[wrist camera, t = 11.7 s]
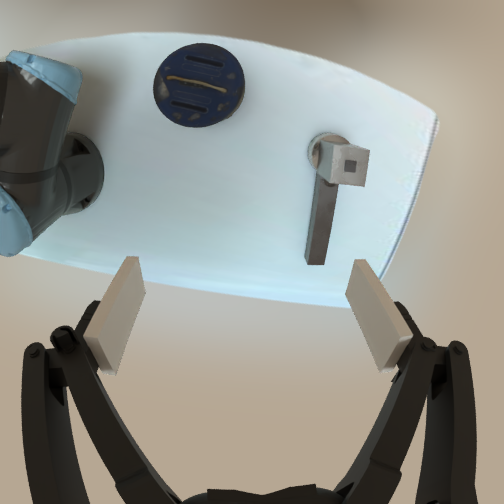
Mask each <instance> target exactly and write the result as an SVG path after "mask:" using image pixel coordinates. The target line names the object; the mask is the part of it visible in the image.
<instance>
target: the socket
mask: <svg viewBox="0 0 504 504" xmlns="http://www.w3.org/2000/svg"><path fill="white" fill-rule="evenodd" d="M369 153H370V150H368V149H365V148H362V147H359V146H356V145H353V144H348V143H342V142H334V141H327V140H320V143H319V153H318V163H317V173H318V174H319V175H321V176H322V177H323V178H324V179H326V180H327V181H328V182H329V183H335V184H345V185H354V186H363V187H365V181H366V174H367V168H368V160H369Z"/></svg>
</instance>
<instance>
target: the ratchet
mask: <svg viewBox="0 0 504 504" xmlns="http://www.w3.org/2000/svg"><path fill="white" fill-rule="evenodd" d="M320 140H327V141H334V142H342V143H348V144H350V143H349V142H348V141H347V140H346V139H345V138H343V137H341V136H338V135H336V134H333V133H322V134H320V135H318V136H316V137H315V138H314V139H313V140H312V141H311V143H310V145H309V147H308V159H309V161H310V163H311V165H312V166H313V167H314V168H315V169H316V170H317V163H318V153H319V143H320ZM338 185H339V184H335V183H329V182H328V181H327V180H326V179H324V178H323V177H322V176H321V175H319V174H318V173H316V181H315V189H314V196H313V204H312V211H311V218H310V225H309V232H308V238H307V245H306V251H305V259H306V262H307V265H324V263H325V258H326V253H327V248H328V243H329V238H330V232H331V227H332V221H333V216H334V210H335V204H336V198H337V192H338Z"/></svg>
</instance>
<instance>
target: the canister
mask: <svg viewBox="0 0 504 504" xmlns="http://www.w3.org/2000/svg"><path fill="white" fill-rule="evenodd" d="M244 92H245V78H244V73H243V70H242V67H241V65H240V63H239V62H238V60H237V59H236V58H235V56H234V55H232V54H231V53H230V52H229V51H227V50H226V49H224V48H222V47H220V46H217V45H213V44H207V43H196V44H191V45H187V46H184V47H182V48H180V49H178V50H176V51H174V52H173V53H171V54H170V55H169V56H168V57H167V58H166V59H165V60H164V61H163V62H162V64H161V65H160V67H159V69H158V70H157V73H156V75H155V79H154V84H153V93H154V98H155V101H156V104H157V106H158V108H159V109H160V111H161V112H162V113H163V114H164V115H165V116H166V117H167V118H168V119H170V120H171V121H173V122H174V123H177V124H179V125H182V126H185V127H193V128H198V127H206V126H210V125H213V124H216V123H218V122H220V121H222V120H224V119H226V118H229V117H230V116H232V114H233V113H234V112H235V111H236V110H237V109H238V107H239V106H240V104H241V102H242V100H243V97H244Z"/></svg>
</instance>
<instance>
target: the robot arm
mask: <svg viewBox="0 0 504 504" xmlns="http://www.w3.org/2000/svg"><path fill="white" fill-rule="evenodd" d="M81 83H82V73H81V71H80V70H79V69H78V68H76V67H74V66H71V65H68V64H65V63H62V62H59V61H55V60H52V59H48V58H45V57H41V56H36V55H33V54H29V53H25V52H21V51H15V50H13V51H11V52H10V53H9V55H8V56H7V57H6V62H0V255H2V256H6V257H11V256H14V255H17V254H18V253H19V252H21V251H22V250H23V249H24V248H26V247H29V246H30V245H31V243H32V242H33V241H34V240H35V239H36V238H37V237H38V236H39V235H40V234H41V233H43V232H44V231H45V230H46V229H47V228H48V227H49V226H50V225H51V224H53V223H54V222H55V221H56V220H57V219H58V218H59V217H61V216H63V215H68V214H73V213H78V212H80V211H82V210H84V209H85V208H87V207H88V206H89V205H90V204H92V203H93V202H94V201H95V199H96V198H97V197H98V195H99V193H100V191H101V188H102V185H103V179H104V168H103V162H102V159H101V156H100V153H99V151H98V150H97V148H96V146H95V145H94V144H93V143H92V142H91V141H90V140H89V139H88V138H87V137H85V136H83V135H81V134H78V133H66V132H67V129H68V125H69V122H70V118H71V115H72V112H73V108H74V105H76V104H77V100H76V99H77V96H78V92H79V89H80V86H81ZM145 294H146V292H145V288H144V283H143V278H142V273H141V268H140V263H139V258H138V257H133V256H127V257H126V259H125V260H124V262H123V264H122V265H121V267H120V269H119V270H118V272H117V274H116V275H115V277H114V279H113V281H112V282H111V284H110V286H109V288H108V290H107V291H106V293H105V295H104V297H103V298H102V300H101V301H96V300H95V301H93V302H92V303H91V304H90V305H89V306H88V307H87V309H86V310H85V312H84V314H83V316H82V317H81V320H80V321H79V323H78V325H77V327H76V329H75V330H73V328H72V327H70V326H61V327H58V328H56V329H55V330H54V331H53V332H52V334H51V336H50V341H51V342H52V344H53V346H54V348H52V349H45V348H44V346H43V345H42V344H41V343H39V342H35V343H32V344H30V345H29V346H28V347H27V348H26V349H25V352H24V359H23V371H22V392H21V398H22V399H21V407H22V408H21V409H22V411H21V413H22V434H23V447H24V456H25V463H26V470H27V476H28V482H29V487H30V492H31V496H32V500H33V504H90V502H89V499H88V496H87V493H86V490H85V486H84V482H83V479H82V475H81V471H80V468H79V464H78V459H77V455H76V450H75V445H74V440H73V435H72V429H71V423H70V416H69V409H68V400H67V390H66V387H67V386H69V389H70V391H71V394H72V397H73V399H74V402H75V404H76V407H77V409H78V411H79V414H80V416H81V418H82V421H83V423H84V425H85V427H86V429H87V431H88V433H89V436H90V438H91V439H92V442H93V444H94V445H95V447H96V449H97V451H98V453H99V455H100V457H101V459H102V460H103V462H104V464H105V466H106V467H107V469H108V471H109V472H110V474H111V476H112V477H113V479H114V481H115V483H116V484H115V487H116V489H117V491H118V493H119V494H120V496H121V497H122V499H123V500H124V502H125V503H126V504H388V503H389V501H390V499H391V497H392V496H393V494H394V492H395V490H396V487H397V486H398V483H399V481H400V479H401V476H402V473H401V471H400V468H401V465H402V463H403V461H404V458H405V456H406V454H407V451H408V449H409V447H410V444H411V441H412V439H413V436H414V433H415V431H416V428H417V425H418V422H419V419H420V416H421V413H422V410H423V407H424V403H425V400H426V397H427V415H426V431H425V441H424V451H423V459H422V466H421V472H420V478H419V484H418V489H417V495H416V501H415V504H478V502H477V496H476V490H475V473H476V451H477V434H476V410H475V398H474V388H473V380H472V373H471V367H470V360H469V354H468V350H467V348H466V346H465V345H464V344H463V343H461V342H459V341H452V342H451V343H450V344H449V345H448V347H442V346H437V345H436V343H435V342H434V341H433V340H431V339H430V338H427V337H423V335H422V334H421V332H420V330H419V329H418V327H417V325H416V324H415V322H414V321H413V320H412V317H411V316H410V315H409V313H408V311H407V309H406V308H405V307H404V306H403V305H402V304H401V303H400V302H393V300H392V299H391V297H390V296H389V294H388V293H387V291H386V290H385V288H384V287H383V285H382V284H381V282H380V280H379V279H378V277H377V276H376V274H375V273H374V271H373V270H372V268H371V267H370V265H369V264H368V262H367V261H366V260H365V259H355V260H354V264H353V268H352V272H351V276H350V279H349V283H348V286H347V290H346V293H345V295H346V297H347V299H348V302H349V304H350V306H351V308H352V310H353V312H354V315H355V317H356V319H357V321H358V323H359V326H360V328H361V330H362V332H363V334H364V337H365V339H366V341H367V344H368V346H369V348H370V351H371V353H372V355H373V358H374V360H375V363H376V365H377V367H378V370H379V372H380V373H385V372H390V371H392V370H393V369H394V367H395V366H396V364H397V366H398V368H399V370H398V372H397V373H396V375H395V376H394V378H393V379H392V381H391V382H393V384H392V386H391V389H390V391H389V393H388V396H387V398H386V400H385V402H384V405H383V407H382V409H381V411H380V413H379V416H378V418H377V420H376V422H375V424H374V426H373V428H372V430H371V432H370V434H369V436H368V438H367V440H366V441H365V443H364V445H363V447H362V449H361V450H360V452H359V454H358V456H357V457H356V459H355V461H354V463H353V464H352V466H351V468H350V469H349V471H348V473H347V474H346V476H345V477H344V478H343V479H342V480H341V482H340V483H339V484H338V485H337V486H336V488H335V489H334V490H333V491H331V490H327V489H323V488H316V484H310V485H303V486H295V487H288V488H285V489H282V490H279V491H276V492H273V493H269V494H266V495H258V494H253V493H247V492H242V491H238V490H221V489H220V490H219V489H207V493H202V494H198V495H195V496H193V497H190V498H188V499H186V500H184V501H183V502H182V501H181V500H180V499H179V497H177V495H176V494H175V493H174V492H173V491H172V489H171V488H170V487H169V486H168V485H167V484H166V483H165V482H164V480H163V479H162V478H161V477H160V475H159V474H158V473H157V471H156V470H155V469H154V467H153V466H152V465H151V463H150V462H149V461H148V459H147V458H146V456H145V455H144V453H143V452H142V451H141V449H140V448H139V446H138V445H137V444H136V442H135V440H134V439H133V437H132V436H131V434H130V432H129V431H128V429H127V427H126V426H125V424H124V423H123V421H122V419H121V417H120V416H119V414H118V412H117V410H116V409H115V407H114V405H113V403H112V401H111V400H110V398H109V396H108V394H107V392H106V390H105V388H104V386H103V384H102V382H101V380H100V378H99V376H98V374H97V370H98V367H99V368H100V369H101V371H102V373H104V374H109V375H116V374H117V371H118V368H119V365H120V362H121V359H122V356H123V353H124V350H125V347H126V344H127V341H128V338H129V336H130V333H131V330H132V327H133V324H134V322H135V319H136V317H137V314H138V311H139V309H140V306H141V304H142V301H143V298H144V296H145Z"/></svg>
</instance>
